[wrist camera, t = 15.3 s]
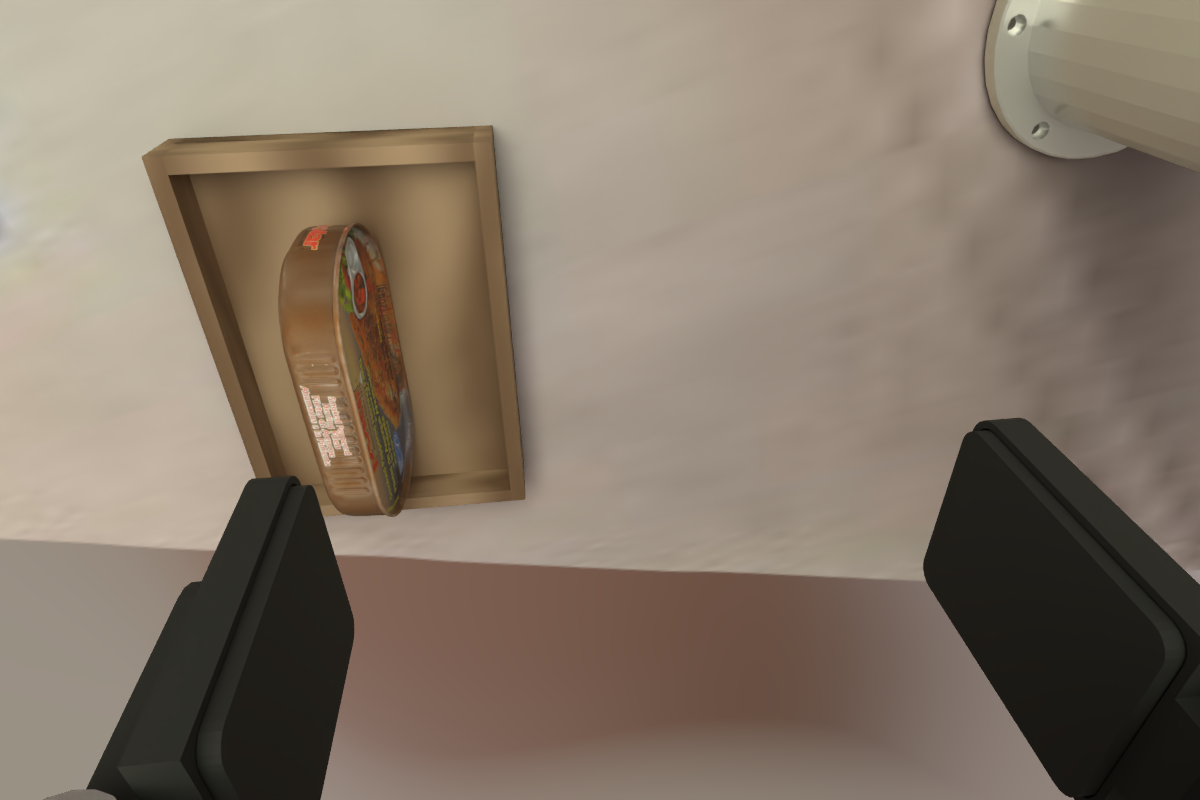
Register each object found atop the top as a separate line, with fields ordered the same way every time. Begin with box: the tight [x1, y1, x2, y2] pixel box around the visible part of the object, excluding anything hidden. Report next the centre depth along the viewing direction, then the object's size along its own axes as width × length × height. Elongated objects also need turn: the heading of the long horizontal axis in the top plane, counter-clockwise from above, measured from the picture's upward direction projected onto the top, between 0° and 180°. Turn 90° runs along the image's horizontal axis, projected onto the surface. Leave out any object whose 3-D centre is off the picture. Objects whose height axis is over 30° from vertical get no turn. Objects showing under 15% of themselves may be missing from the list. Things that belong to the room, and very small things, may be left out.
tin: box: [278, 222, 414, 517], centre depth 35 cm, size 15×3×8 cm, turn 1°
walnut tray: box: [142, 126, 525, 516], centre depth 38 cm, size 15×21×3 cm
